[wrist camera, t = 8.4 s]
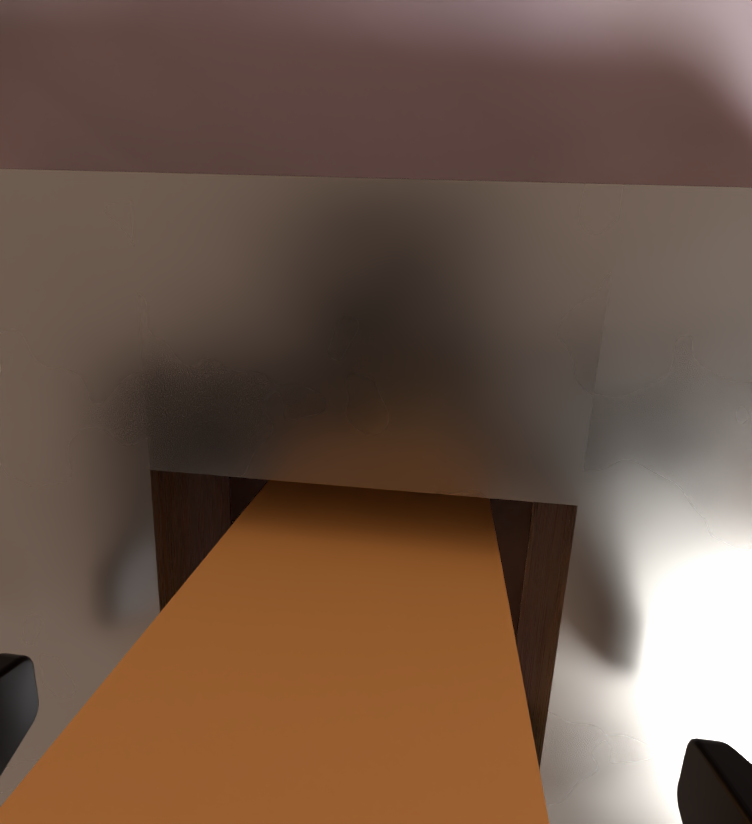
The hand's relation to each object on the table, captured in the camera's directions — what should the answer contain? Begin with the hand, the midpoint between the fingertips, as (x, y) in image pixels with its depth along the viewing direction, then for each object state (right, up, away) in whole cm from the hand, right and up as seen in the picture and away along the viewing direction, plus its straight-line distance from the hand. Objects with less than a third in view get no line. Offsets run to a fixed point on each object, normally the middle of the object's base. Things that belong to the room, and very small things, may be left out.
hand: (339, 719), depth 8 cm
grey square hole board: (0, +1, +4) cm, 4 cm away
